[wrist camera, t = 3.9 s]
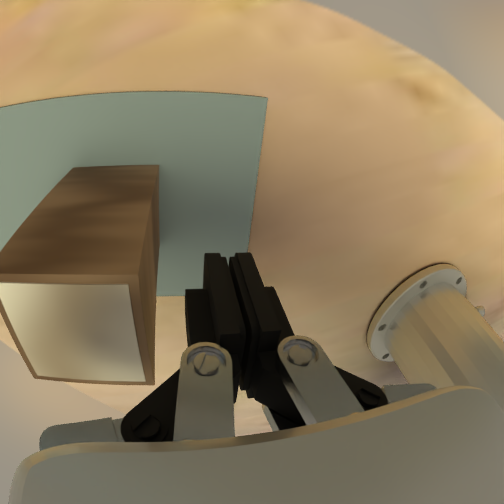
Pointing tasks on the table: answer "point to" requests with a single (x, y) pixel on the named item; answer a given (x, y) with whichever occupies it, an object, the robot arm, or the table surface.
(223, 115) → the mat
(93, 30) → the table surface
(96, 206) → the block
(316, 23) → the table surface
